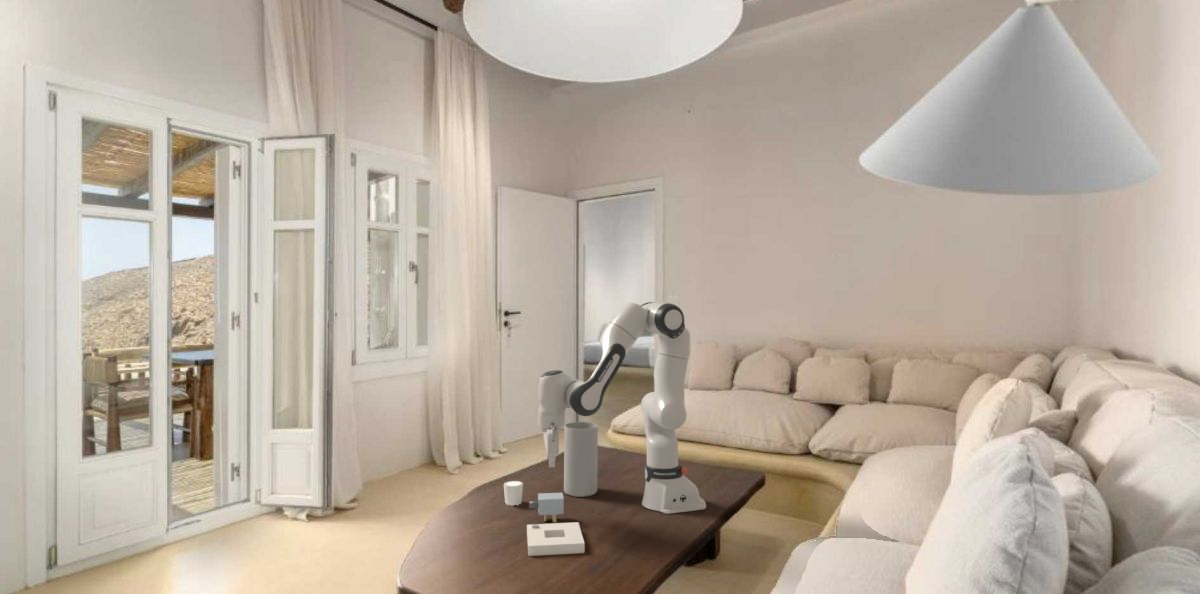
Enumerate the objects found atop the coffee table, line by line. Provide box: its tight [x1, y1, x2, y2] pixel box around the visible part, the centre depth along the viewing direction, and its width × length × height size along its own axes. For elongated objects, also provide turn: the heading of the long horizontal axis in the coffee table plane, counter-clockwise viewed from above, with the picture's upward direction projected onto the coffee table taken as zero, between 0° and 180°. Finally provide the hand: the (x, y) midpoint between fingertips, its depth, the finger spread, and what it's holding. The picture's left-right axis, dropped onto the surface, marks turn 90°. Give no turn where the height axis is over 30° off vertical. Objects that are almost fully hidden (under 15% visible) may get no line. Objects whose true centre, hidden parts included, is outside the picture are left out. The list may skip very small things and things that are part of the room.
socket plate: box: [526, 521, 586, 557], centre depth 180 cm, size 16×16×4 cm
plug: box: [528, 492, 565, 523], centre depth 198 cm, size 11×6×8 cm, turn 98°
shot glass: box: [503, 480, 524, 507], centre depth 214 cm, size 7×7×7 cm
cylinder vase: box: [563, 421, 599, 498], centre depth 227 cm, size 12×12×25 cm
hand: (550, 462), depth 198 cm, fingers open, 8 cm apart
